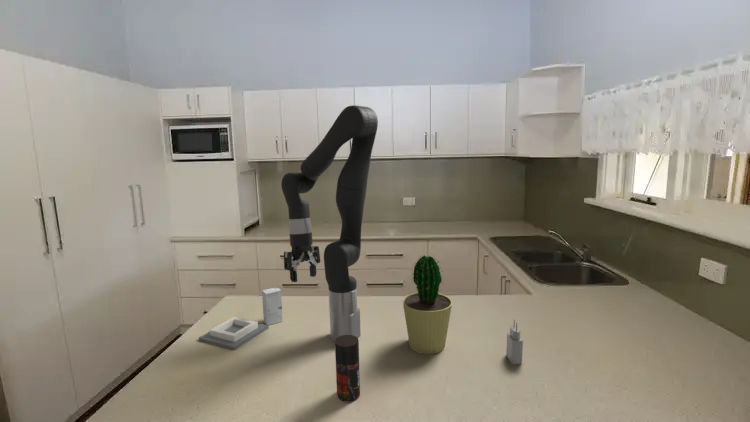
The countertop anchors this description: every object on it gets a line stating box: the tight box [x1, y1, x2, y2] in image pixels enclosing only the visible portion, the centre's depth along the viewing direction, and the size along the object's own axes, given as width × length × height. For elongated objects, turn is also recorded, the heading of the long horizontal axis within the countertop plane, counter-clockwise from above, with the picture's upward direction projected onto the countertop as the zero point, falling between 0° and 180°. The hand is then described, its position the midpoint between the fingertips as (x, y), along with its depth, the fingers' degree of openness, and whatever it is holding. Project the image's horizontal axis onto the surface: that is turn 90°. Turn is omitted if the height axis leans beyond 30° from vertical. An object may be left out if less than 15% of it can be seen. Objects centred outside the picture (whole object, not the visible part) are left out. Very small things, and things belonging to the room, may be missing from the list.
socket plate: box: [198, 316, 270, 351], centre depth 132 cm, size 16×16×3 cm
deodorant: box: [334, 335, 361, 403], centre depth 98 cm, size 6×6×15 cm
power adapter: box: [505, 319, 524, 365], centre depth 113 cm, size 3×5×12 cm, turn 1°
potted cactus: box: [402, 255, 453, 355], centre depth 121 cm, size 15×15×30 cm
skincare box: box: [261, 286, 284, 326], centre depth 141 cm, size 6×4×12 cm
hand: (304, 279), depth 131 cm, fingers open, 8 cm apart
